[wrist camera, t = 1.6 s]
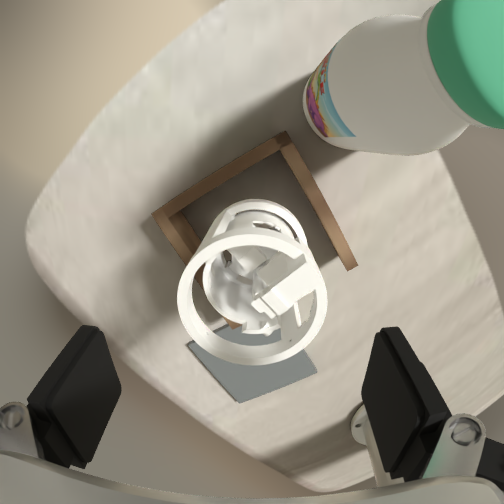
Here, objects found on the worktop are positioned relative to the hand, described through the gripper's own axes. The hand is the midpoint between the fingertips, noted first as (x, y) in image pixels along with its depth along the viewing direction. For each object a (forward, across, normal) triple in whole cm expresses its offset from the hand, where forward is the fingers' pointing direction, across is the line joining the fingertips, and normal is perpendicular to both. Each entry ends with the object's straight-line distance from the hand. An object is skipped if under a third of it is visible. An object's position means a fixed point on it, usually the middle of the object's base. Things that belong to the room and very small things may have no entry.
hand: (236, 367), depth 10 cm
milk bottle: (+19, -8, -10) cm, 23 cm away
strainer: (+19, -1, +1) cm, 19 cm away
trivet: (+18, 0, +15) cm, 24 cm away
